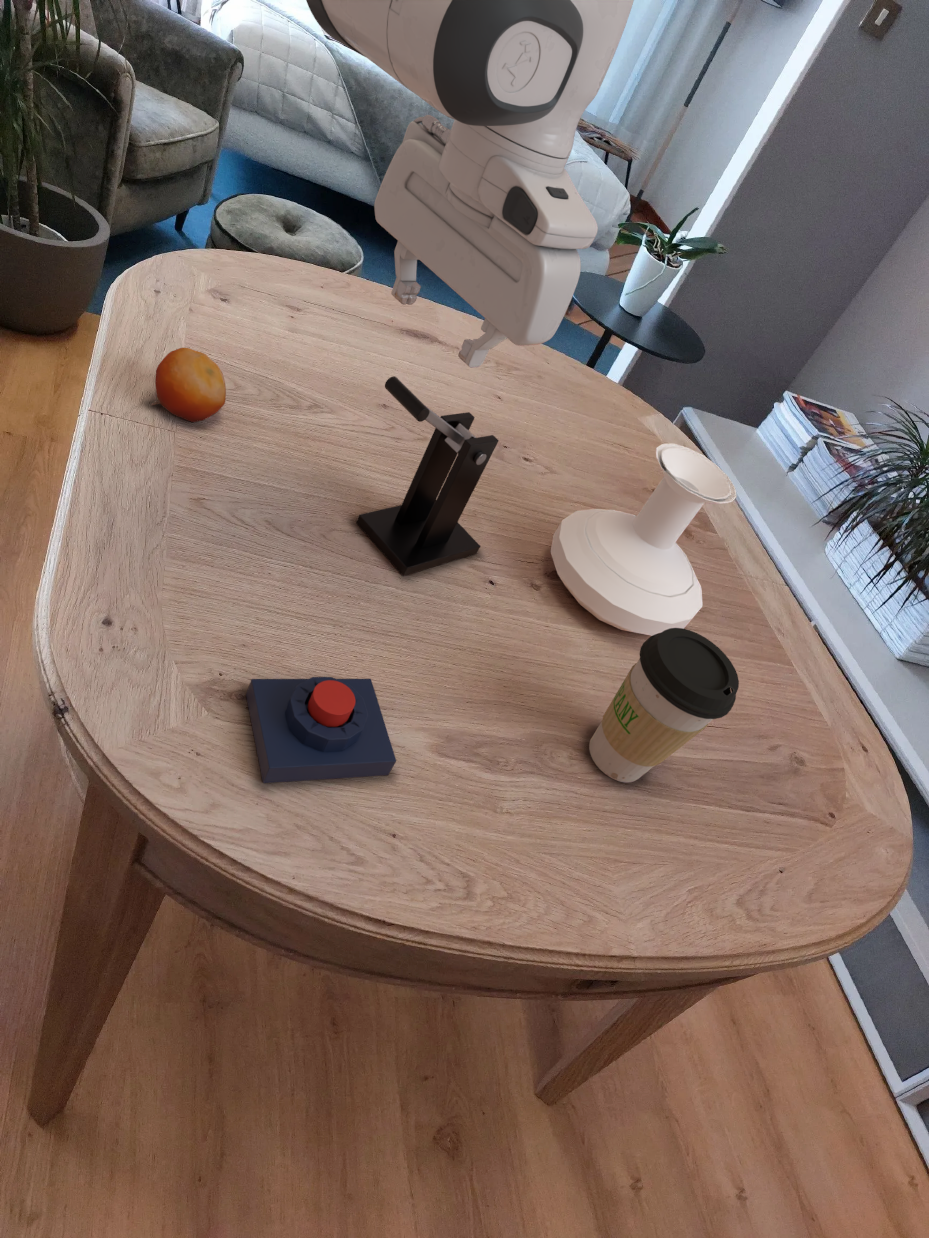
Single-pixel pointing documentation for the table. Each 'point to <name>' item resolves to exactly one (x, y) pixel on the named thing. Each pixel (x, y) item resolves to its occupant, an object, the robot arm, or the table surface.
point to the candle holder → (642, 549)
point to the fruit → (190, 385)
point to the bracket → (433, 505)
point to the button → (331, 703)
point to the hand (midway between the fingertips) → (434, 330)
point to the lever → (427, 414)
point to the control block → (316, 733)
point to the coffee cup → (663, 703)
